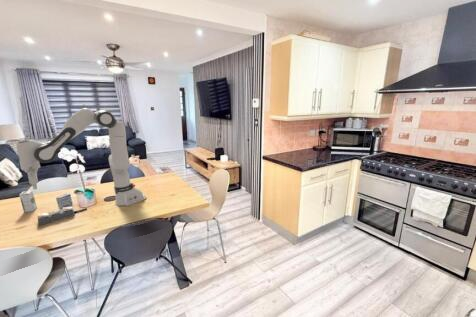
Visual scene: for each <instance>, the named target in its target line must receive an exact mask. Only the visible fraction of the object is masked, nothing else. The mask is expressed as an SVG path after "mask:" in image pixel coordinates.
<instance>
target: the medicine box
mask: <svg viewBox="0 0 476 317" xmlns="http://www.w3.org/2000/svg"><path fill="white" fill-rule="evenodd" d="M71 195H72V194H71V193H65V194H63V195H59V196H57V197H55V199H56V204H57V207H58V208H57V209H63V207H71V205H74V204H73V200H72V196H71Z"/></svg>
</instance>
